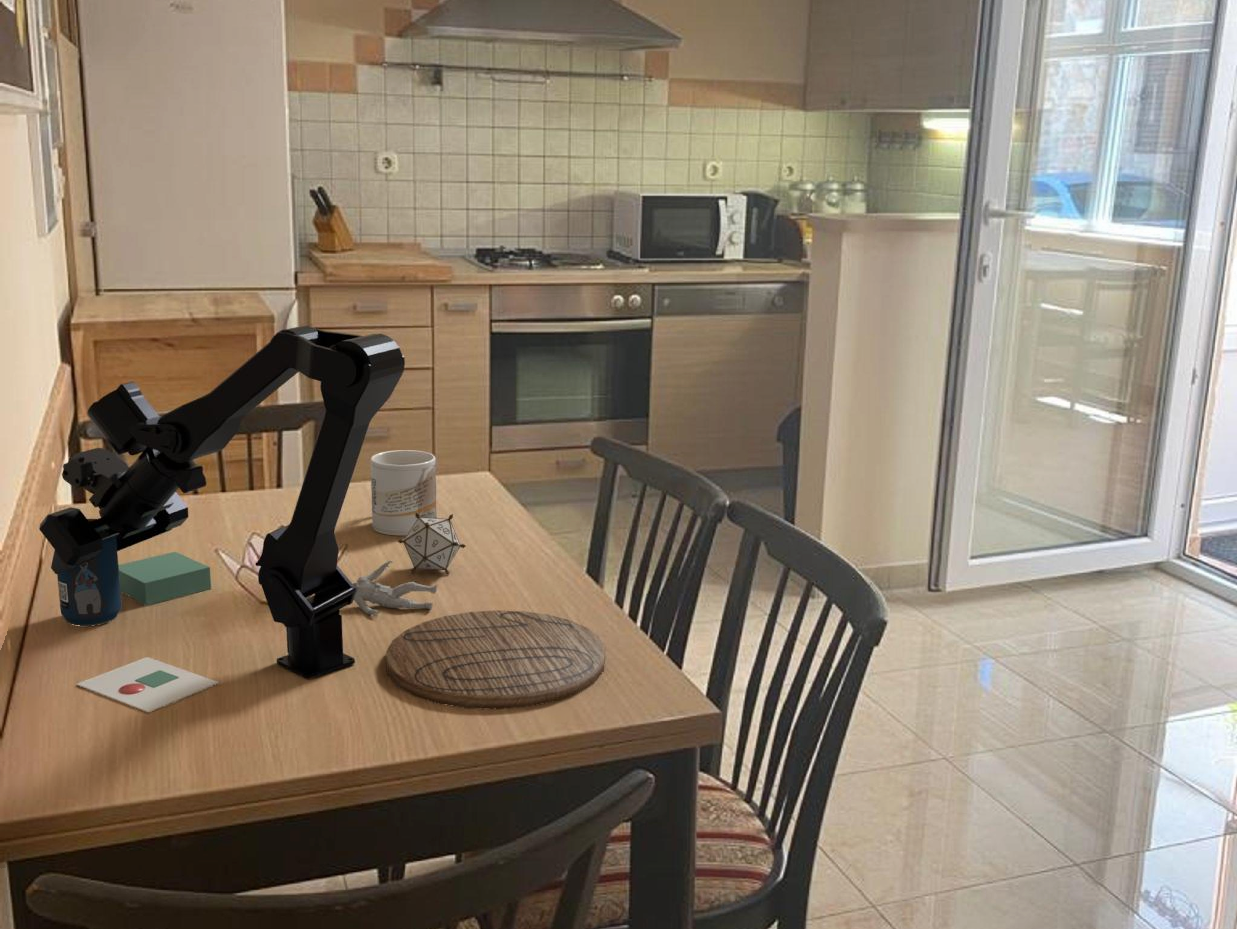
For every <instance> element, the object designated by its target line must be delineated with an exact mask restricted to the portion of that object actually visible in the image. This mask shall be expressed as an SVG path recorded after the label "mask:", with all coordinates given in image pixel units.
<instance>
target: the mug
mask: <svg viewBox="0 0 1237 929" xmlns="http://www.w3.org/2000/svg"><path fill="white" fill-rule="evenodd" d="M436 460H437V459H436V456H435V455H434V454H433V453H430V452H427V451H422V450H414V449H413V450H412V449H409V450H408V449H401V450H400V449H399V450H397V449H396V450H388V451H383V452H379V453H375V454H373V455H372V456H371V457H370V484H371V486H370V488H371V489H370V490H371V492H370V493H371V519H372V520H371V522H372V529H373V530H374V531H375V532H376V533H379V534H384V535H389V536H399V537H400V536H401V537H404V536H405V537H406V536H407V534H408V533H409V531H410V530H411V528H412V527H413V525H414V523H415V522H416V520H417V519H418V518H417V517H416V516H415V515H416V513H418V514H419V515H420V517H423V518H437V473H436V472H437V470H436V469H437V468H436V467H437V464H436V462H437V461H436Z"/></svg>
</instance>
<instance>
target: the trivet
mask: <svg viewBox="0 0 1237 929" xmlns="http://www.w3.org/2000/svg"><path fill="white" fill-rule="evenodd" d="M385 653H386V669H387V676H388V678H390V680H391V681H392V682H393V683H394V685H396V687H397V688H398V689H401V690H402V691H404V692H407V693H408V694H409V695H411V696H414V697H415V698H418V699H421V698H422V700H425V701H428V700H429V701H428V702H431V701H432V702H431V703H434V702H436V703H435V704H437V703H439V704H438V705H443V704H447V705H446V706H449V705H453V706H452V707H456V706H457V708H462V707H464V708H463V709H476V708H482V709H481V710H485V709H484V708H489V709H488V710H503V709H504V708H507V709H514V708H513V707H519V708H527V707H526V706H529V707H533V706H532V705H534V706H538V705H537V704H539V705H542V704H541V703H544V704H547V703H546V702H549V703H552V701H554V702H557V700H558V701H560V700H562V698H563V699H565V698H568V697H571V696H574V695H577V694H579V693H581V692H583V691H584V690H585V688H586V689H587V688H589V687H590V686H592V685H593V684H595V683H596V682H598V679H599V678H600V677H601V676H602V674H603V673H605V672H604V671H605V666H604V665H606V646H605V645H604V643H603V641H602V639H601V637H600V636H599V635H598V634H596V633H595V632H594V631H592V630H591V629H589V628H588V627H587V626H584V625H582V624H579V623H577V622H575V621H572V620H570V619H568V618H567V619H566V618H563V617H558V616H555V615H551V614H545V613H539V612H533V611H532V612H531V611H524V610H522V611H521V610H482V611H468V612H462V613H455V614H451V615H450V614H449V615H445V616H441V617H437V618H435V619H430V620H427V621H424V622H421V623H419V624H416V625H415V626H412V627H410V628H408V629H406V630H404V631H403V632H402V633H400V634H398V636H396V637H395V638H394V639H393V640H392V641H391V642H390V644H389V646H388V648H387V650H386V652H385ZM602 672H603V673H602ZM600 675H601V676H600ZM599 676H600V677H599ZM595 681H596V682H595ZM594 682H595V683H594ZM591 684H592V685H591ZM588 686H589V687H588ZM583 689H584V690H583ZM580 691H581V692H580ZM578 692H579V693H578ZM576 693H577V694H576ZM570 695H571V696H570ZM550 701H551V702H550ZM494 708H496V709H494ZM504 710H505V709H504Z"/></svg>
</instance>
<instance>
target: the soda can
mask: <svg viewBox="0 0 1237 929" xmlns="http://www.w3.org/2000/svg"><path fill="white" fill-rule="evenodd" d="M96 519H97V518H87V520H88V521H89V522H90V521H93V520H96ZM102 546H103V549H102V550H101V551H100V553H99V554H98V555H96V556H95V557H94V558H95V559H94V560H91V561H89V562H86V563H84V564H81V565H79V566H76V567H74V568H71V569H69V570H67V571H64V572H62V573H59V574H56V575H57V586H58V598H59V607H60V609H59V610H60V614H61V616H62V617H63V618H64V619H65V620H66V622H67V623H68V624H69V623H70V624H69V625H71V624H74V625H80V626H91V627H93V626H92V625H98V624H102V625H104V624H103V623H106V624H108V623H107V622H109V621H111V622H113V621H114V620H115V619H116V618H117V616H118V615H119V613H120V612H121V609H122V606H123V604H122V593H121V590H120V578H119V566H118V565H119V556H118V551H117V542H116V535H114V536H111V537H109V538H106V539H103V540H102ZM112 620H113V621H112ZM109 623H110V622H109ZM98 626H99V625H98Z"/></svg>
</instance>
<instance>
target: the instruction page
mask: <svg viewBox="0 0 1237 929" xmlns="http://www.w3.org/2000/svg"><path fill="white" fill-rule="evenodd" d="M216 684H217V685H220V684H219V681H217V680H214V679H211V678H208V677H205V676H203V675H200V674H197V673H194V672H191V671H188V670H185V669H182V668H179V667H177V666H175V665H171V664H168V663H166V662H163V661H160V660H158V659H157V660H156V659H155V658H152V657H149V656H145V657H143V658H141V659H139V660H138V659H137V660H135V661H133V662H131V663H128V664H125V665H122V666H120V667H117V668H115V669H112V670H110V671H107V672H104V673H101V674H99V675H96V676H94V677H91V678H88V679H86V680H82V681H80V682H78V683H76V686H77V685H78V686H77V687H79V686H80V688H82V687H83V689H85V688H86V689H85V690H87V691H90V692H92V691H93V692H92V693H96V694H97V693H99V694H98V695H101V696H103V697H105V696H106V697H105V698H108V699H110V698H111V700H113V699H114V700H113V701H115V700H117V701H116V702H118V701H120V702H119V703H121V702H123V703H125V704H124V705H126V704H128V705H131V706H132V707H131V706H130V707H131V708H133V707H135V708H134V709H136V708H139V709H140V710H139V709H138V710H139V711H141V710H144V711H147V712H151V711H153V710H156V709H158V708H160V707H163V706H164V705H167V704H170V703H172V702H174V701H177V700H179V701H181V700H180V699H182V700H184V699H186V698H185V697H187V696H189V697H191V696H193V695H192V694H194V693H196V694H198V693H200V692H199V691H201V692H203V691H205V690H207V689H206V688H208V687H210V688H212V687H214V686H213V685H215V686H217V685H216ZM204 689H205V690H204ZM208 689H209V688H208ZM202 690H203V691H202ZM197 692H198V693H197ZM190 695H191V696H190ZM194 695H195V694H194ZM183 698H184V699H183ZM187 698H188V697H187ZM177 702H178V701H177ZM123 703H122V704H123ZM172 704H173V703H172ZM128 705H127V706H128ZM170 705H171V704H170ZM163 708H164V707H163ZM158 710H159V709H158ZM144 711H143V712H144ZM156 711H157V710H156ZM151 713H152V712H151Z"/></svg>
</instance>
